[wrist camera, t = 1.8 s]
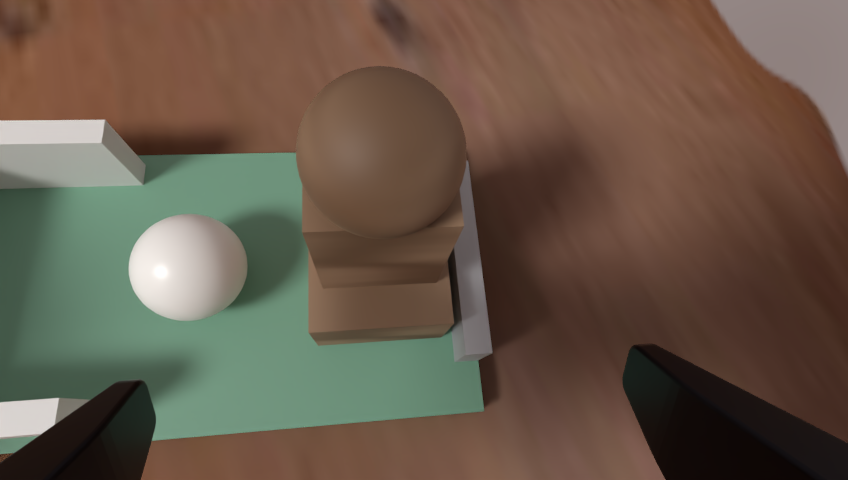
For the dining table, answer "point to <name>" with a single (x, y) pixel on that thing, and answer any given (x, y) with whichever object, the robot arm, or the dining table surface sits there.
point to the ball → (188, 267)
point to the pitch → (206, 338)
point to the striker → (380, 206)
